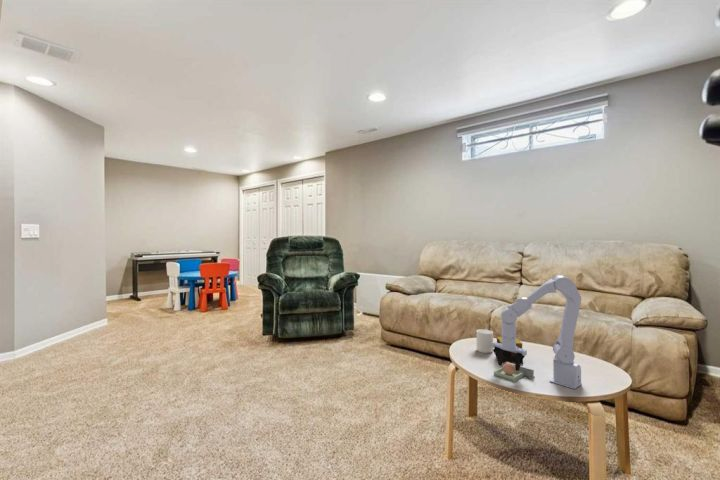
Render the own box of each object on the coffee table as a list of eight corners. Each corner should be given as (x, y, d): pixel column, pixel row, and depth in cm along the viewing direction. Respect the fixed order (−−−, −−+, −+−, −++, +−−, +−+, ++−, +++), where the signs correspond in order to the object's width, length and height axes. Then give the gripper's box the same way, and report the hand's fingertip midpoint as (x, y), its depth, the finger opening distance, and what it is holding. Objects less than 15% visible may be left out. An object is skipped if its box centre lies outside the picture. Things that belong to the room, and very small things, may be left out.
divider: (534, 377, 145) (534, 369, 145) (531, 378, 144) (531, 370, 144) (507, 368, 154) (507, 361, 154) (504, 370, 153) (504, 362, 153)
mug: (485, 345, 188) (485, 327, 188) (499, 349, 181) (499, 330, 181) (473, 350, 180) (473, 331, 180) (488, 354, 174) (488, 334, 173)
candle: (523, 364, 160) (523, 343, 160) (500, 363, 162) (500, 342, 162) (517, 357, 170) (517, 337, 170) (496, 355, 172) (496, 336, 172)
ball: (517, 374, 147) (517, 363, 147) (511, 377, 144) (511, 366, 144) (506, 371, 151) (506, 360, 151) (500, 373, 148) (500, 362, 148)
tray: (524, 375, 147) (524, 372, 147) (514, 381, 141) (514, 377, 141) (504, 369, 154) (504, 366, 154) (493, 374, 148) (493, 371, 148)
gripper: (529, 338, 144) (530, 370, 144) (497, 331, 155) (497, 360, 155) (522, 341, 140) (522, 374, 140) (489, 334, 151) (489, 364, 151)
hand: (508, 367), depth 147 cm, fingers open, 7 cm apart
